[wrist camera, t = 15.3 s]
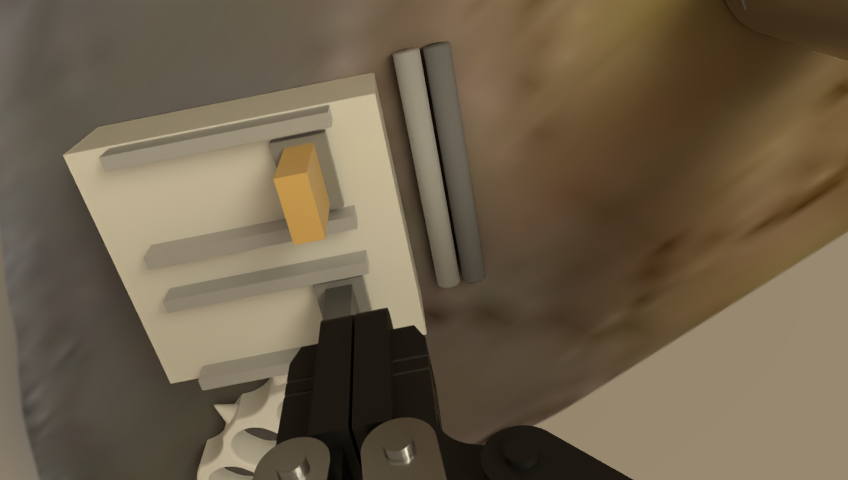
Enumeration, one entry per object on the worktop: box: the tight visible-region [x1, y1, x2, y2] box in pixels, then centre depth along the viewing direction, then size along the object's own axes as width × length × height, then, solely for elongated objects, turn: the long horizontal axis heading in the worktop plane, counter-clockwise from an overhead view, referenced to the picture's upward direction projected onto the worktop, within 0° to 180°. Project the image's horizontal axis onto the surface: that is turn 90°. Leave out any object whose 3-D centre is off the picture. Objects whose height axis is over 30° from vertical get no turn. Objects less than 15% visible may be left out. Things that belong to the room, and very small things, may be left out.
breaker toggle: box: [269, 129, 344, 245], centre depth 33 cm, size 3×4×5 cm
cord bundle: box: [392, 42, 486, 288], centre depth 41 cm, size 3×16×2 cm, turn 10°
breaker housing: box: [63, 72, 427, 391], centre depth 39 cm, size 17×16×6 cm
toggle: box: [313, 275, 372, 320], centre depth 37 cm, size 3×4×5 cm
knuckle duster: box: [197, 374, 288, 480], centre depth 49 cm, size 3×18×15 cm
